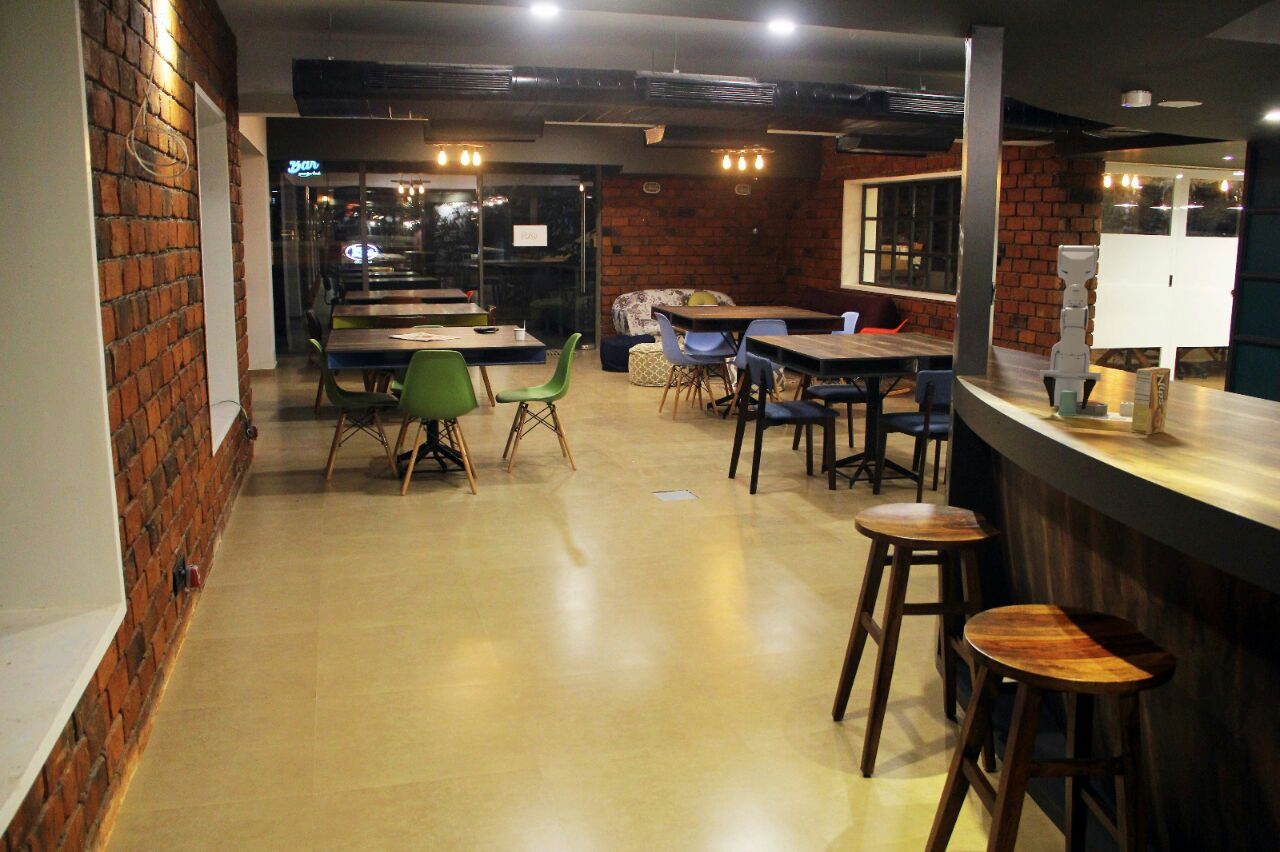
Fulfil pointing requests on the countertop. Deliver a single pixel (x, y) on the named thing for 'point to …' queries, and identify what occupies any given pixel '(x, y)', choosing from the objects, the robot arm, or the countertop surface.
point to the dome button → (1092, 403)
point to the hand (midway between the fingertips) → (1067, 407)
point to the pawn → (1068, 403)
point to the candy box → (1150, 399)
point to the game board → (1121, 414)
